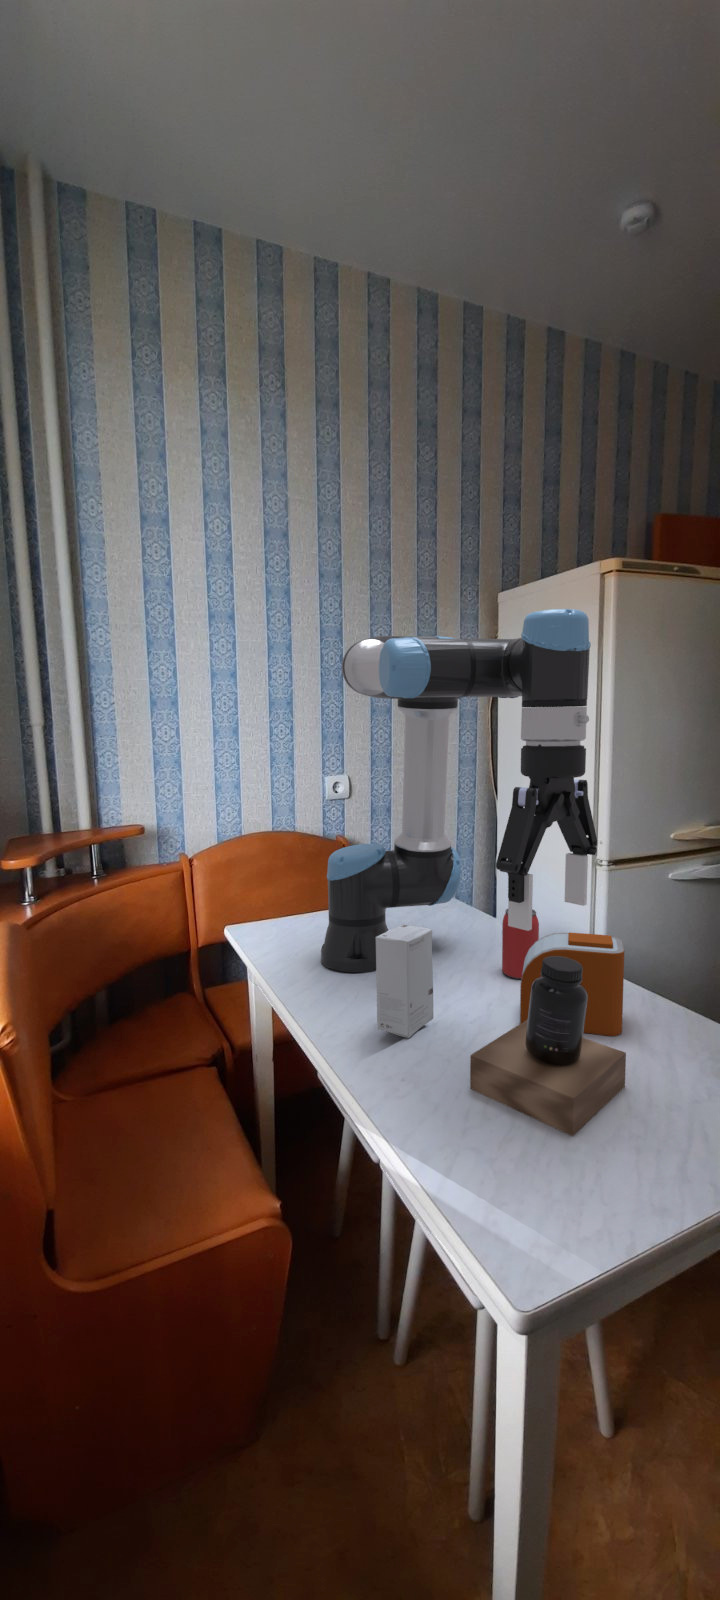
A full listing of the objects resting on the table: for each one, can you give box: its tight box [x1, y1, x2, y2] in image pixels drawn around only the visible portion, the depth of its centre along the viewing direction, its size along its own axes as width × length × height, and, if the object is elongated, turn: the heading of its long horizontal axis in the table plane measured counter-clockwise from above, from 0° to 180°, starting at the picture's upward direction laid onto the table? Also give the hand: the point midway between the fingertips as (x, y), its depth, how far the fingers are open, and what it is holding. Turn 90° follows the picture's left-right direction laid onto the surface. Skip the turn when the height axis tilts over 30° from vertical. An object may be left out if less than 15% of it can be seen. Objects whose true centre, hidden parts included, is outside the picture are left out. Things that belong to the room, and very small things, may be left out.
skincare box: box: [375, 924, 434, 1039], centre depth 100 cm, size 8×6×15 cm
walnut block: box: [469, 1019, 627, 1137], centre depth 82 cm, size 14×14×5 cm
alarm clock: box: [519, 931, 625, 1037], centre depth 101 cm, size 15×8×14 cm, turn 72°
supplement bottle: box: [525, 956, 588, 1066], centre depth 81 cm, size 7×7×12 cm
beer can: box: [501, 908, 540, 980], centre depth 120 cm, size 7×7×12 cm
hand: (549, 915), depth 80 cm, fingers open, 13 cm apart
